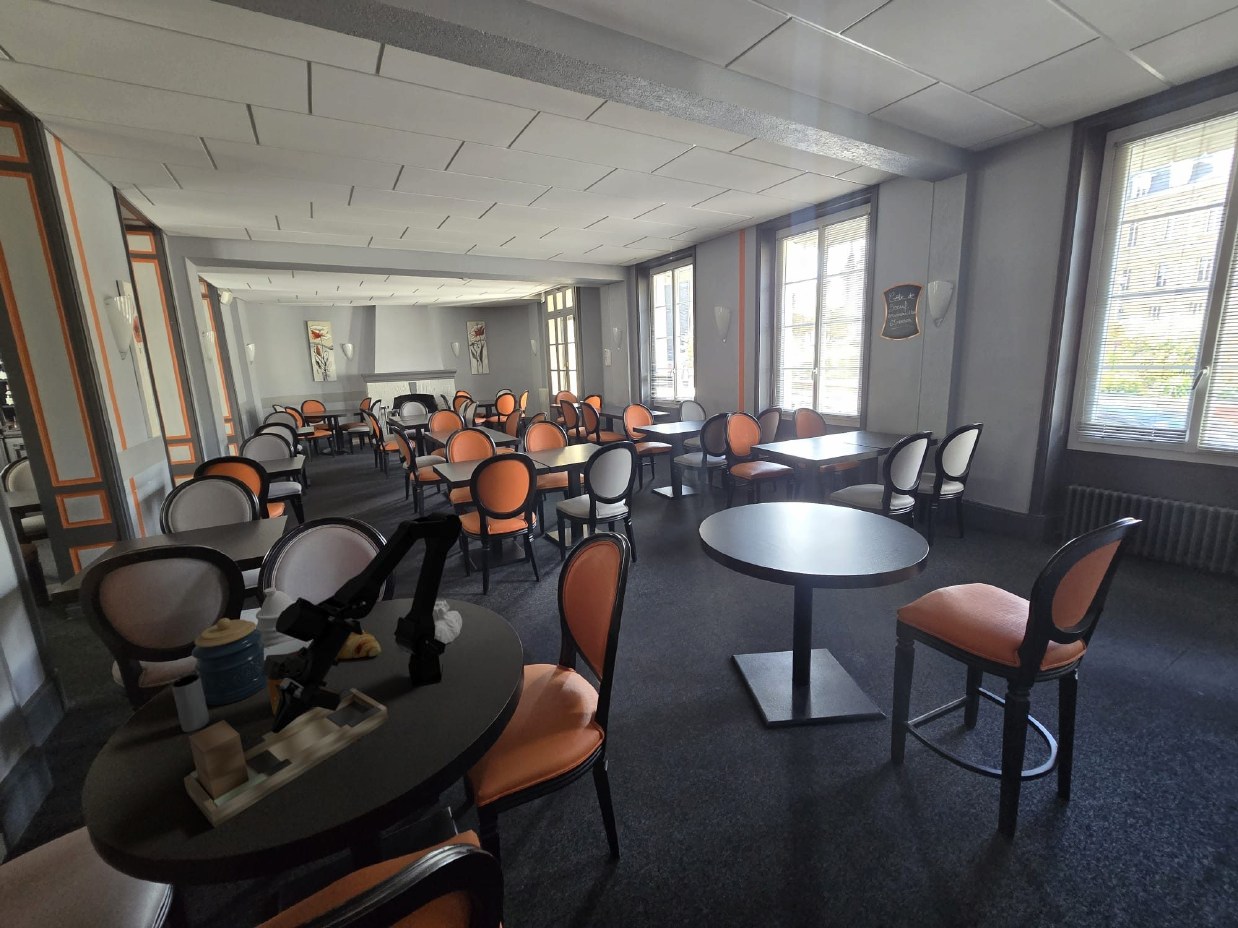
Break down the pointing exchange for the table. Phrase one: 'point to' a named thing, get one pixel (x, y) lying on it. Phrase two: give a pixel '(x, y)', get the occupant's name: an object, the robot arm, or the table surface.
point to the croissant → (360, 646)
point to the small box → (282, 648)
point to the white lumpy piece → (446, 622)
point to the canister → (230, 661)
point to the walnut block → (219, 759)
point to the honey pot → (273, 618)
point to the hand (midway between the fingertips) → (274, 732)
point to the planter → (190, 702)
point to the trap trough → (291, 753)
